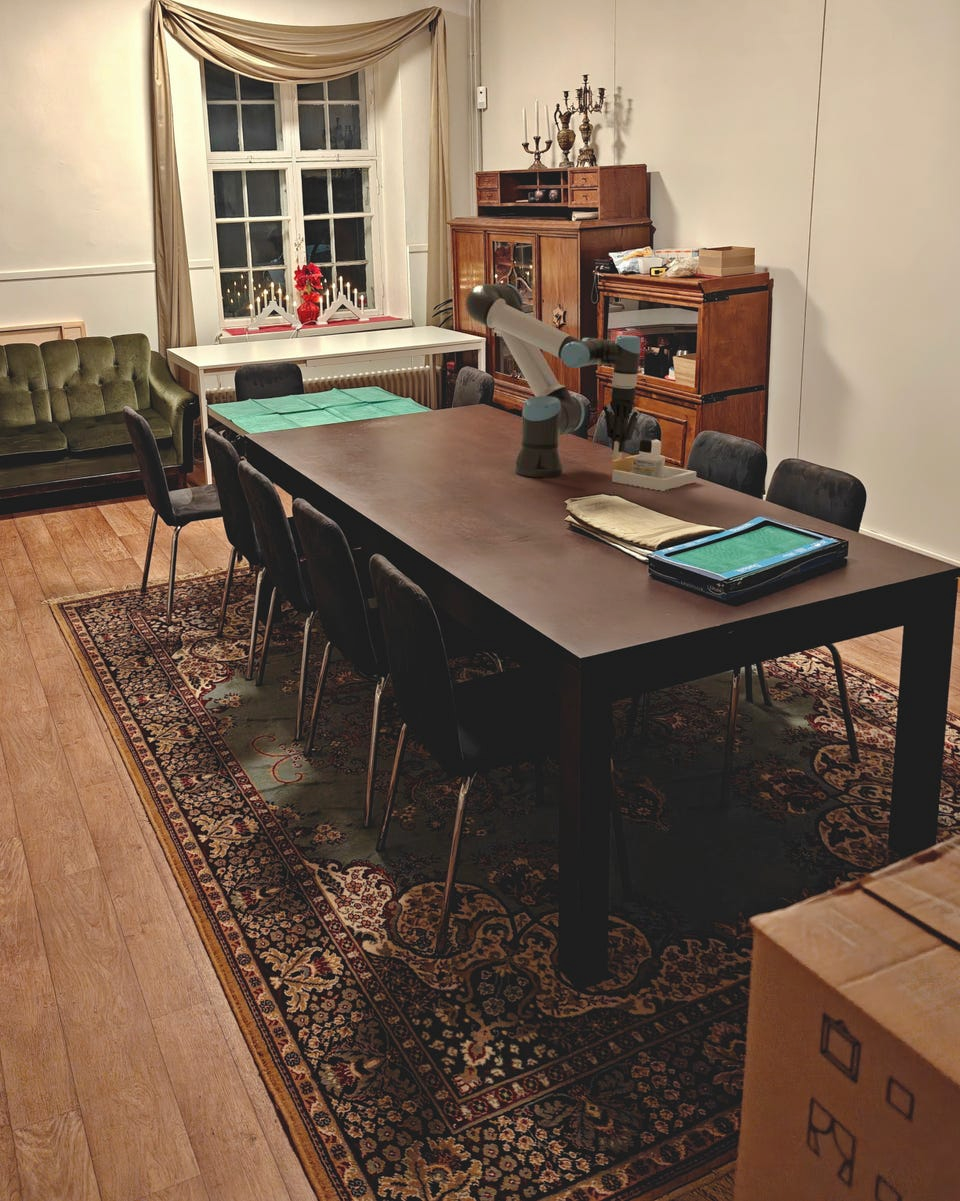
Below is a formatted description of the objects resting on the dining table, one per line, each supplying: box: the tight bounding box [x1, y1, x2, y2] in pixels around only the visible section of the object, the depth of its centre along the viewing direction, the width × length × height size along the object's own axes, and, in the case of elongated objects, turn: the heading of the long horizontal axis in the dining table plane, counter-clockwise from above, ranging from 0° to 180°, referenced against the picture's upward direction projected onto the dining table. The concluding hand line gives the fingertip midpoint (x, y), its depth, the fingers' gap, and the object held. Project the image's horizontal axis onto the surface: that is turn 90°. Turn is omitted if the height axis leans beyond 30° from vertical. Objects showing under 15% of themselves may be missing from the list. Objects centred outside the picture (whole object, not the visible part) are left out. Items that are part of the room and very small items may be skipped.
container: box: [631, 438, 666, 479], centre depth 354 cm, size 8×8×13 cm
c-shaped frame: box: [611, 465, 698, 492], centre depth 354 cm, size 19×18×4 cm
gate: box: [610, 453, 640, 476], centre depth 362 cm, size 20×2×6 cm, turn 140°
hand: (616, 461), depth 361 cm, fingers closed
